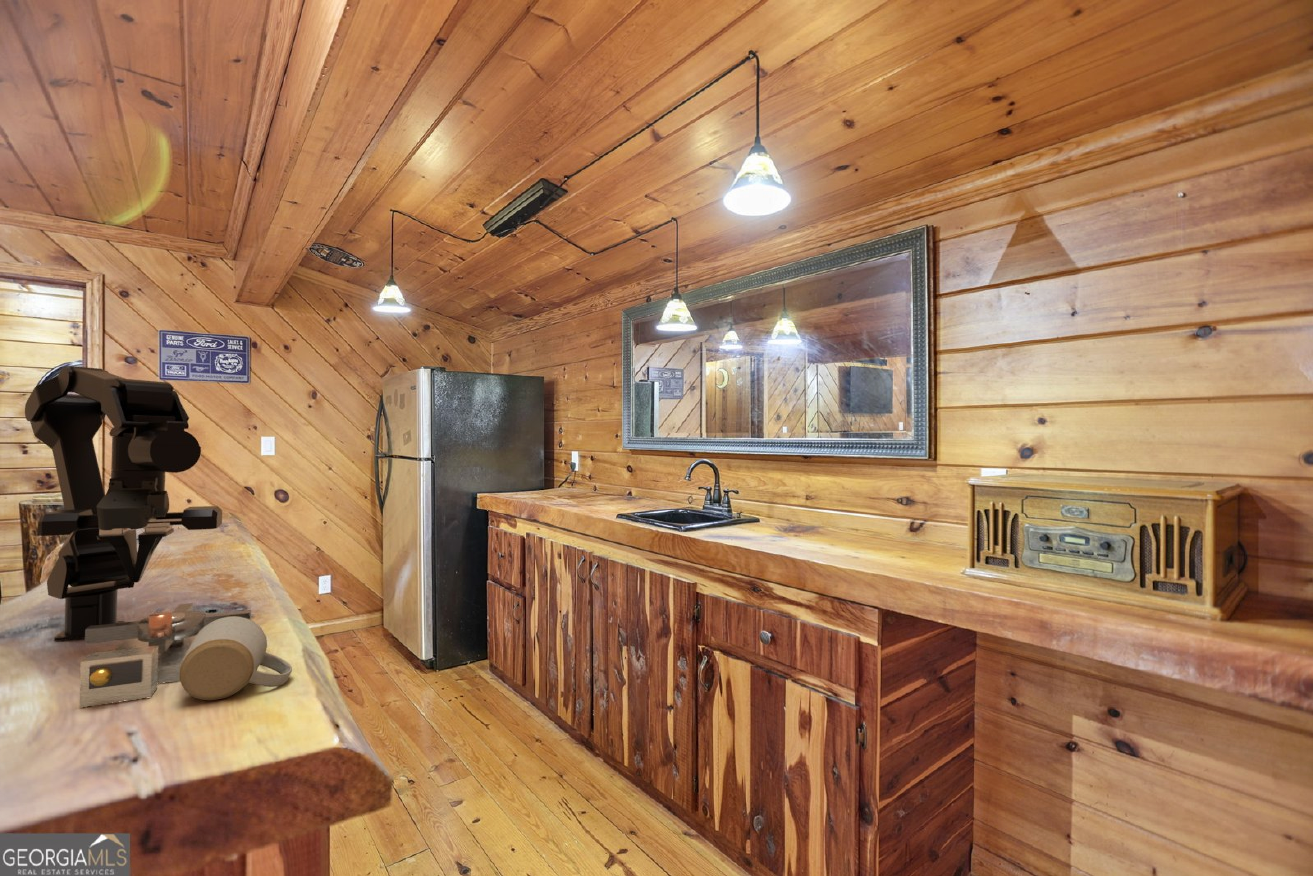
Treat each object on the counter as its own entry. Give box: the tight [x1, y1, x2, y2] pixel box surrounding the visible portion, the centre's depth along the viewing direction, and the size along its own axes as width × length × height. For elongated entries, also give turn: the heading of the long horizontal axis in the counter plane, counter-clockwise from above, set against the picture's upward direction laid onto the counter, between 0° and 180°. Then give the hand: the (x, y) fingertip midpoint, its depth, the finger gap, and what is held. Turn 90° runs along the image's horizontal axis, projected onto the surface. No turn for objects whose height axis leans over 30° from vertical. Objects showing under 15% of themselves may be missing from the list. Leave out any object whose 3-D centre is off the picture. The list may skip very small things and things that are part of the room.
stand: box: [78, 635, 197, 709], centre depth 77 cm, size 24×12×5 cm, turn 29°
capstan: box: [84, 602, 252, 653], centre depth 79 cm, size 17×17×4 cm
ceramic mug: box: [179, 616, 293, 701], centre depth 71 cm, size 11×8×8 cm
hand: (135, 582), depth 83 cm, fingers closed
